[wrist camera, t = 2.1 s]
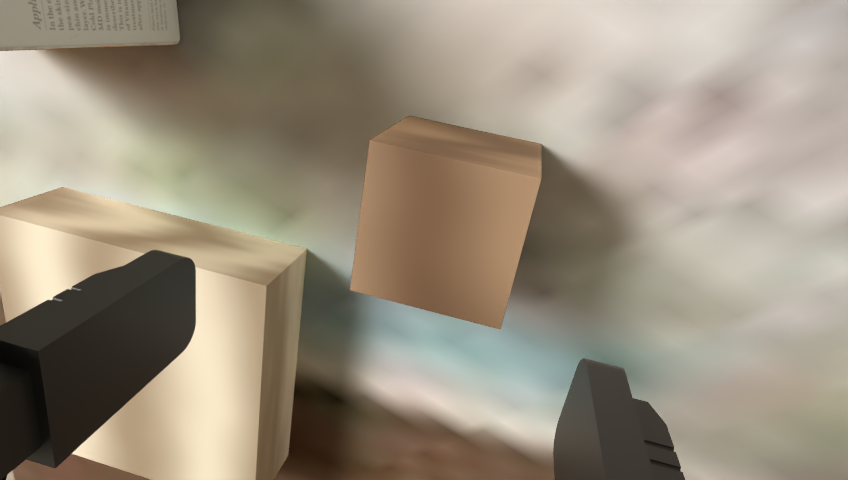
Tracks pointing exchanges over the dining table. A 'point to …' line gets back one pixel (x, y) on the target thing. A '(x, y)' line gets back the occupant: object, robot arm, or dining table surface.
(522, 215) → the walnut cube
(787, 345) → the dining table surface
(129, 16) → the small box
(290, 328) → the beige square plate
